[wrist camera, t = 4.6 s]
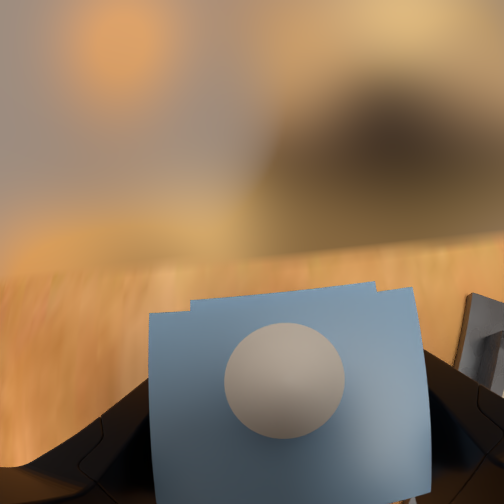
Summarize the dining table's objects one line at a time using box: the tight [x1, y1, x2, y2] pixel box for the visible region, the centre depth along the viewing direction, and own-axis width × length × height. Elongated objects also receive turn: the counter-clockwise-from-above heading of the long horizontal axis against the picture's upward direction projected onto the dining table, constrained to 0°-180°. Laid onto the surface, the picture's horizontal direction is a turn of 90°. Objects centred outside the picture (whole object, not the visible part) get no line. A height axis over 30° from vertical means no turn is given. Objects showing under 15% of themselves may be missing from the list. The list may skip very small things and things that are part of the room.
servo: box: [148, 281, 431, 504], centre depth 9 cm, size 6×5×11 cm
